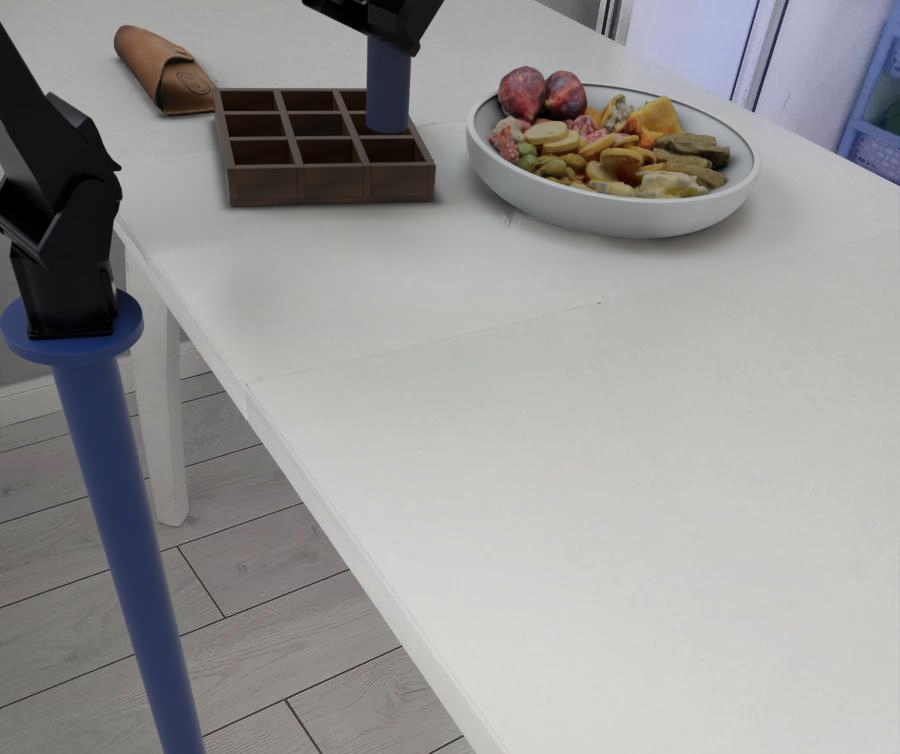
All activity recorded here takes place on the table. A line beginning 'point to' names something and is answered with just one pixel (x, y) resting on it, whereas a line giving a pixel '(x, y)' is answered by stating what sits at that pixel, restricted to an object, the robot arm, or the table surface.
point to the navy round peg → (387, 87)
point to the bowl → (608, 156)
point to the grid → (315, 149)
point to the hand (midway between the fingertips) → (400, 45)
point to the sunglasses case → (165, 71)
